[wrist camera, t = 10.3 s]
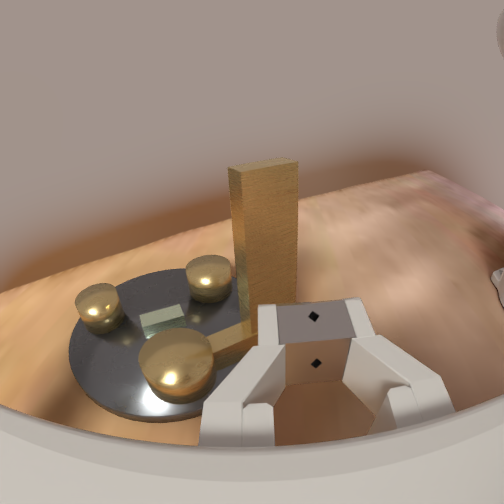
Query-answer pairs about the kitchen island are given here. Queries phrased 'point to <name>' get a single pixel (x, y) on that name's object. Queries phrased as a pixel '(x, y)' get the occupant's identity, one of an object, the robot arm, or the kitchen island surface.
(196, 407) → the levelling plate
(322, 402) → the kitchen island surface
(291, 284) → the lever knob
